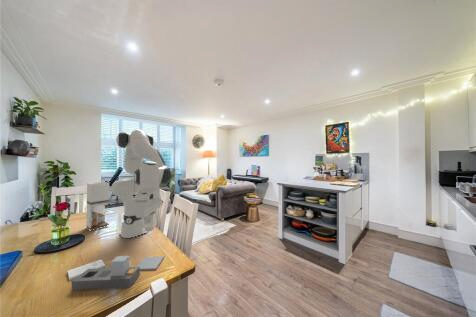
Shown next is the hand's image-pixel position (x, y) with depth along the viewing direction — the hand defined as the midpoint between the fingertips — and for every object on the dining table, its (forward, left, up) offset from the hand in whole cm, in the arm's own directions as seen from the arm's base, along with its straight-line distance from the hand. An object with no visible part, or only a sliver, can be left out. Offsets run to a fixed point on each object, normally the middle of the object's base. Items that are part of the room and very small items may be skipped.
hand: (149, 221), depth 85 cm
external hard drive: (+2, -28, -22) cm, 35 cm away
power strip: (+12, -12, -21) cm, 27 cm away
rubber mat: (0, 0, -21) cm, 21 cm away
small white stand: (-53, -63, -21) cm, 85 cm away
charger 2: (0, 0, -4) cm, 4 cm away
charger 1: (+12, -7, -18) cm, 22 cm away
